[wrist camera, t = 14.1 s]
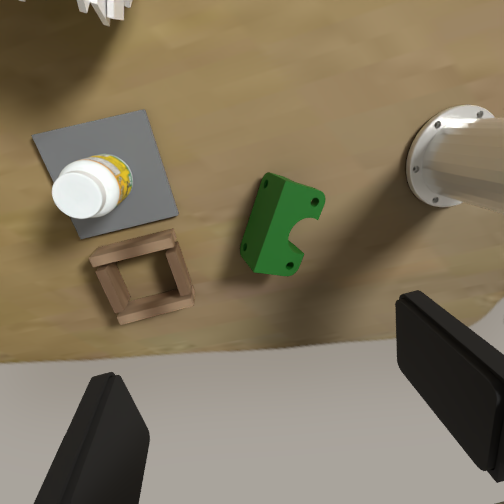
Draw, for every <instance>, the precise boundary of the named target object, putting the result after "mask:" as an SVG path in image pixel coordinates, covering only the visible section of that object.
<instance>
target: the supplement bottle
mask: <svg viewBox="0 0 504 504" xmlns="http://www.w3.org/2000/svg"><path fill="white" fill-rule="evenodd" d="M132 187H133V177H132V173H131V170H130V168H129V167H128V165H127V164H126V163H125V162H124V161H123V160H121V159H120V158H118V157H116V156H113V155H110V154H99V155H95V156H91V157H88V158H84V159H81V160H78V161H75V162H72V163H70V164H68V165H67V166H66V167H65V168H64V169H63V170H62V171H61V173H60V175H59V177H58V178H57V179H56V181H55V182H54V184H53V187H52V197H53V200H54V202H55V204H56V205H57V207H58V208H59V209H60V210H61V211H62V212H63V213H65V214H66V215H68V216H70V217H73V218H78V219H86V218H90V217H92V218H93V217H100V216H104V215H106V214H108V213H109V212H111V211H112V210H113V209H114V208H115V207H116V206H118V205H119V203H121V202H122V201H123V200H124V199H125V198H126V197H127V196H128V195H129V194H130V192H131V190H132Z"/></svg>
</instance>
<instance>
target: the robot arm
mask: <svg viewBox="0 0 504 504" xmlns="http://www.w3.org/2000/svg"><path fill="white" fill-rule="evenodd" d="M406 175H407V181H408V184H409V186H410V189H411V190H412V192H413V193H414V195H415V196H416V197H417V198H418V199H419V200H421V201H423V202H425V203H426V204H429V205H432V206H436V207H451V206H455V205H458V204H461V203H463V202H464V203H468V204H471V205H475V206H478V207H481V208H485V209H488V210H491V211H495V212H498V213H501V214H504V118H495V117H494V116H493V115H492V113H490V112H489V111H488V110H486V109H485V108H482V107H479V106H475V105H459V106H455V107H451V108H448V109H446V110H444V111H441V112H440V113H438V114H437V115H435V116H434V117H432V118H431V119H430V120H429V121H428V122H427V123H426V124H425V125H424V126H423V127H422V129H421V130H420V131H419V132H418V134H417V135H416V137H415V139H414V141H413V143H412V145H411V148H410V150H409V153H408V158H407V162H406ZM395 305H396V339H397V362H398V365H399V368H400V370H401V371H402V373H403V374H404V375H405V376H406V378H407V379H408V380H409V381H410V383H411V384H412V385H413V386H414V388H415V389H416V390H417V391H418V393H419V394H420V395H421V396H422V398H423V399H424V400H425V401H426V403H427V404H428V405H429V407H430V408H431V409H432V410H433V411H434V413H435V414H436V415H437V417H438V418H439V419H440V420H441V422H442V423H443V424H444V425H445V427H446V428H447V429H448V430H449V432H450V433H451V434H452V435H453V437H454V438H455V439H456V440H457V442H458V443H459V444H460V446H461V447H462V448H463V449H464V451H465V452H466V453H467V454H468V456H469V457H470V458H471V459H472V460H473V462H474V463H475V464H476V465H477V467H479V468H480V469H481V470H483V471H486V470H487V471H488V473H489V474H490V475H491V476H492V478H493V479H494V480H495V481H496V482H497V483H498V482H501V481H504V355H503V354H502V353H501V352H499V351H498V350H496V349H495V348H494V347H493V346H492V345H490V344H489V343H488V342H486V341H485V340H484V339H482V338H481V337H480V336H478V335H477V334H476V333H475V332H473V331H472V330H471V329H469V328H468V327H467V326H465V325H464V324H463V323H461V322H460V321H459V320H458V319H456V318H455V317H454V316H452V315H451V314H450V313H448V312H447V311H446V310H445V309H443V308H442V307H441V306H439V305H438V304H437V303H435V302H434V301H433V300H432V299H430V298H429V297H428V296H426V295H425V294H424V293H422V292H421V291H419V290H416V291H413V292H409V293H405V294H402V295H400V297H399V300H397V301H396V304H395ZM149 441H150V436H149V430H148V428H147V426H146V424H145V422H144V420H143V418H142V416H141V415H140V413H139V411H138V409H137V407H136V405H135V403H134V401H133V399H132V397H131V395H130V393H129V391H128V389H127V387H126V386H125V384H124V382H123V380H122V378H121V376H119V375H115V374H114V373H113V372H109V373H105V374H102V375H98V376H94V377H92V378H91V380H90V382H89V384H88V387H87V389H86V391H85V393H84V395H83V397H82V400H81V402H80V404H79V406H78V408H77V411H76V413H75V415H74V417H73V419H72V422H71V424H70V426H69V428H68V430H67V433H66V435H65V436H64V438H63V441H62V443H61V445H60V447H59V449H58V451H57V454H56V456H55V458H54V460H53V462H52V465H51V467H50V469H49V471H48V474H47V476H46V478H45V480H44V482H43V485H42V487H41V489H40V491H39V493H38V495H37V498H36V500H35V502H34V504H139V498H140V492H141V487H142V481H143V475H144V470H145V464H146V459H147V453H148V447H149ZM496 504H504V502H500V503H496Z"/></svg>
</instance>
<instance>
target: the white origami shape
mask: <svg viewBox="0 0 504 504" xmlns="http://www.w3.org/2000/svg"><path fill="white" fill-rule="evenodd" d="M19 1H23V2H25V0H19ZM132 1H133V0H77V3H78V7H79V11H80V12H84V13H87V12H88V8H89V4H90V3H91V5H92V6H93V8H94V10H95V11H96V13H97V15H98V16H99V18H100V20H101V21H102V23H103V25H106V26H110V18H112V19H117V20H124V6H125V7H129V8H130V7H131V4H132Z"/></svg>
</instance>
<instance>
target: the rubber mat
mask: <svg viewBox="0 0 504 504" xmlns="http://www.w3.org/2000/svg"><path fill="white" fill-rule="evenodd" d="M31 136H32V138H33V140H34V142H35V144H36V146H37V148H38V150H39V152H40V155H41V157H42V159H43V161H44V163H45V165H46V167H47V169H48V171H49V174H50V176H51V178H52V180H53V182H55V181H56V179H57V178H58V177H59V175H60V173H61V171H62V170H63V169H64V168H65V167H66V166H67V165H68V164H70V163H72V162H75V161H78V160H81V159H84V158H88V157H91V156H95V155H99V154H110V155H113V156H116V157H118V158H120V159H121V160H123V161H124V162H125V163H126V164H127V165H128V167H129V168H130V170H131V173H132V177H133V187H132V190H131V192H130V194H129V195H128V196H127V197H126V198H125V199H124V200H123V201H122V202H121V203H119V205H118V206H116V207H115V208H114V209H113V210H112V211H111V212H109V213H108V214H106V215H104V216H100V217H93V218H92V217H90V218H86V219H78V218H73V217H70V218H71V220H72V222H73V224H74V226H75V228H76V231H77V233H78V235H79V237H80V239H84V238H88V237H92V236H96V235H100V234H104V233H108V232H112V231H116V230H120V229H124V228H128V227H133V226H137V225H141V224H145V223H149V222H153V221H157V220H161V219H165V218H169V217H173V216H177V215H178V214H179V213H178V210H177V207H176V204H175V200H174V197H173V194H172V191H171V188H170V185H169V182H168V179H167V176H166V173H165V169H164V166H163V163H162V160H161V157H160V154H159V151H158V148H157V145H156V142H155V138H154V135H153V132H152V129H151V126H150V123H149V120H148V117H147V114H146V111H145V110H144V109H143V110H139V111H135V112H130V113H126V114H122V115H117V116H113V117H109V118H104V119H100V120H95V121H91V122H87V123H82V124H78V125H74V126H69V127H65V128H61V129H56V130H52V131H48V132H43V133H39V134H35V135H31Z"/></svg>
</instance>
